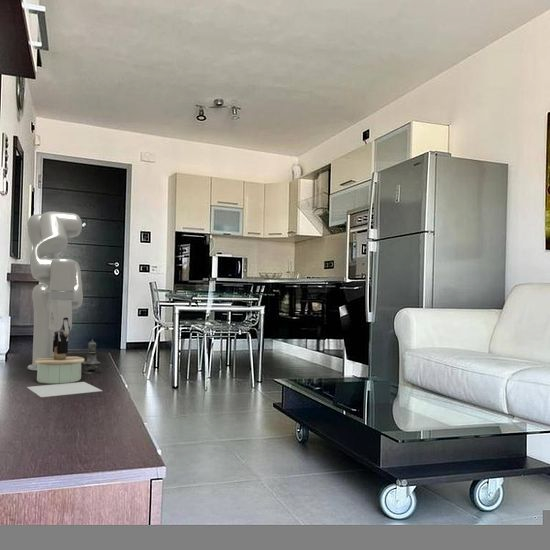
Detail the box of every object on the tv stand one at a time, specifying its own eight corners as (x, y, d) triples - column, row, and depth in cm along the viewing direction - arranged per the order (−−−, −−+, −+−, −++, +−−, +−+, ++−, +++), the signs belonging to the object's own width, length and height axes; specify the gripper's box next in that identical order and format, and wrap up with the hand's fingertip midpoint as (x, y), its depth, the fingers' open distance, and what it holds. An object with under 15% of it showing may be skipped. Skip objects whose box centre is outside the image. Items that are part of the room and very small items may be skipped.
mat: (26, 388, 156) (26, 386, 156) (84, 383, 166) (84, 381, 166) (41, 398, 142) (41, 397, 142) (102, 392, 153) (102, 390, 153)
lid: (29, 360, 171) (29, 345, 171) (76, 357, 180) (76, 343, 180) (41, 366, 159) (41, 350, 159) (90, 363, 168) (91, 348, 168)
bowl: (33, 379, 170) (33, 361, 170) (73, 376, 178) (74, 358, 178) (43, 385, 160) (44, 366, 160) (85, 382, 168) (86, 363, 168)
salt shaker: (94, 374, 183) (95, 340, 183) (79, 373, 184) (80, 339, 184) (103, 371, 188) (104, 338, 189) (88, 371, 190) (89, 338, 190)
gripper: (43, 295, 174) (41, 350, 174) (57, 297, 161) (55, 356, 160) (66, 296, 179) (64, 349, 178) (81, 297, 165) (79, 355, 165)
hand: (60, 352), depth 169 cm, fingers open, 4 cm apart
